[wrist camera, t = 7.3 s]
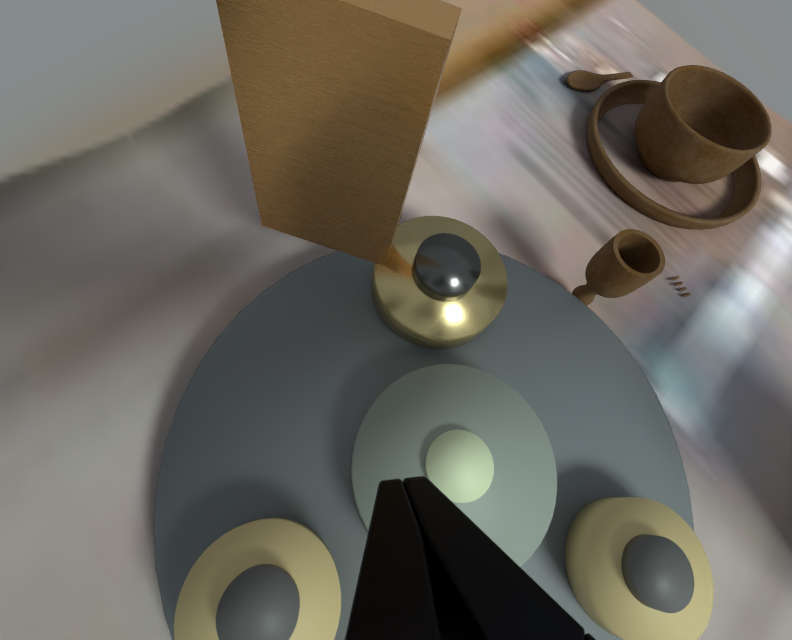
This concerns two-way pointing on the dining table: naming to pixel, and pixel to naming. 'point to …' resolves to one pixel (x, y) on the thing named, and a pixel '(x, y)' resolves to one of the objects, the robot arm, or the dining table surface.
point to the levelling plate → (420, 462)
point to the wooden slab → (359, 150)
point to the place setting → (673, 161)
